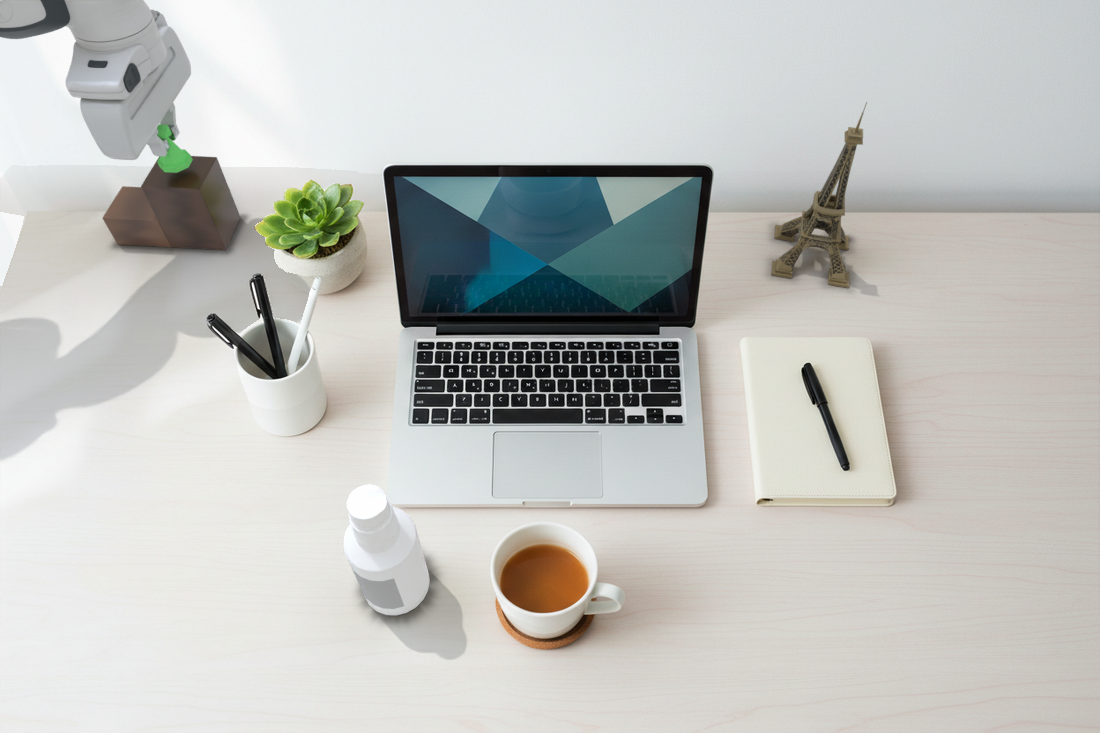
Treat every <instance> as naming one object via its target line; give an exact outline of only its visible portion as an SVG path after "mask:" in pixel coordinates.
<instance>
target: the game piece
mask: <svg viewBox="0 0 1100 733" xmlns="http://www.w3.org/2000/svg"><path fill="white" fill-rule="evenodd" d="M157 130H158V134H157V136H158V137H159V138H160V139H164V138H166V139H167V142H168V145H169V146H170V149H169V151H168V153H167V155H166V156H160V158H159V157H158V158H159V159H158V158H157V159H158V161H157V160H156V161H157V163H158V165H159V167H160V168H161V169H162V170H163V171H164V172H172V173H177V172H180V171H182V170H184V169H186V168H188V167H189V166H190V164H191V162H192V160H193V159H192V157H191V156H192V154H190V153H189V151H187V150H186V149H183V148H180V147H179V146H178V145H177V143H175V141H172V140H171V139H170V138H169V136H170V135H172V133H171V131H170V129H169V127H168V125H161V124H159V125H158V127H157Z"/></svg>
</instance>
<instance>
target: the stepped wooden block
mask: <svg viewBox="0 0 1100 733" xmlns="http://www.w3.org/2000/svg"><path fill="white" fill-rule="evenodd" d="M191 157H192V159H193V160H192V162H191V164H190V166H189V167H188V168H186V169H184V170H182V171H180V172H177V173H172V172H164V171H163V170H162V169H161V168H160V167H159V165H158V163H157V161H158V159H159V158H160V156H158V158H157V159H156V161H155V163H154V164H153V166H152V167H151V169H150V171H149V173H148V174H147V176H146V177H145V179H144V181H143V182H142V184H141V185H140V186H127V185H126V186H125V185H123V186H121V188H120V189H119V191H118V192H117V194H116V195H115V197H114V199H113V201H112V202H111V204H110V205H109V207H108V208H107V210H106V211H105V212H104V215H103V216H102V221H103V222H104V224H105V225H106V227H107V229H108V231H109V233H110V235H111V236H112V238H113V240H114V241H115V243H116V244H117V245H121V246H137V247H138V246H139V247H141V246H142V247H156V248H157V247H161V248H179V249H198V250H218V251H226V250H227V249H228V246H229V245H230V243H231V240H232V238H233V236H234V234H235V231H236V230H237V227H238V225H239V223H240V221H241V219H242V217H241V214H240V211H239V209H238V207H237V205H236V202H235V200H234V197H233V194H232V192H231V189H230V187H229V184H228V182H227V179H226V176H225V174H224V172H223V169H222V166H221V164H220V161H219V159H218V157H217V156H202V155H191Z"/></svg>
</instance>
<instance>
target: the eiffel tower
mask: <svg viewBox="0 0 1100 733" xmlns="http://www.w3.org/2000/svg"><path fill="white" fill-rule="evenodd" d="M867 104H868V102H867V101H866V102H865V105H864V108H863V110H862V112H861V115H860V117H859V119H858V122H857V124H856V127H851V126H848V127H847V130H845V131H844V145H843V147H842V149H841V151H840V153H839V155H838V157H837V159H836V161H835V164H834V165H833V167H832V169H831V170H830V172H829V175H828V176H827V179H826V180H825V183H823V186H822V188H821V190H816V191H815V192H814V194H813V201H812V204H811V205H810V207H809V208H808V209H807V210H802V213H801V216H799V217H796V218H794V219H791V220H789V221H786V222H784V223H782V224H781V225H780V224H775V226H774V236H773V239H775V240H781V241H787V242H794V241H795V236H796V235H797V243H796V244H795V245H794V246H792V247H791V248H790V249H789V250H787V251H785V252H784V253H783V254H782V255H781V256H779V257H778V258H776V260H772V263H771V272H770V273H771V274H770V275H771V276H773V277H778V278H785V279H792V277H793V269H794V266H795V264H796V263H797V261H798V259H799V257H800V256H801V254H802V252H803V251H804V250H806V249H811V248H818V249H821V250H824V251H825V252H826V253H828V255H829V263H830V267H828V271H827V285H828V286H833V287H841V288H847V289H849V287H850V272H848V271H847V267H846V265H845V263H844V261H843V258H842V255H841V251H840V250H844V251H849V249H850V244H849V243H850V242H849V241H850V240H849V235H846V232H845V230H844V229H843V227H842V217H843V216H844V217H845V216H846V192H847V187H848V182H849V178H850V174H851V170H852V167H853V162H854V158H855V154H856V151H857V148H858V145H859V146H860V145H862V146H863V145H864V128H860V126H861V123H862V119H863V116H864V112H865V109H866V107H867ZM836 186H837V188H836ZM835 188H836V192H835V194H833V192H834V190H835ZM814 230H821V231H824V232H825V233H826V234H827V235H828V236H827V235H819V234H813V233H814Z"/></svg>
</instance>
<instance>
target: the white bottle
mask: <svg viewBox="0 0 1100 733" xmlns="http://www.w3.org/2000/svg"><path fill="white" fill-rule="evenodd" d="M346 510H347V513H348V521H349V524H348V526H347V528H346V529H345V533H344V537H343V541H342V545H343V553H344V555H345V557H346V559H347V562H348V564H349V566H350V568H351V570H352V573H353V574H354V577H355V579H356V581H357V583H358V584H359V587H360V590H361V591H362V594H363V596H364V599H365V600H366V602H367V604H368V606H370V607H371V608H372V609H373V610H374V611H376V612H378V613H380V614H382V615H385V616H399V615H404V614H407V613H409V612H410V611H413V610H414V609H416V608H417V607H418V606H419V605H420V604H421V603H422V602H423V601H424V599H425V598H426V596H427V593H428V591H429V589H430V582H431V581H430V580H431V579H430V573H429V569H428V566H427V562H426V558H425V555H424V551H423V547H422V544H421V540H420V537H419V533H418V530H417V527H416V524H415V523H414V520H413V519H412V518H411V516H410V515H409V514H408V513H406V512H405V511H404V510H403V509H401V508H399V507H396V506H393V505H392V503H391V501H390V499H388V497H387V495H386V493H385V491H384V489H382V488H381V487H380V486H378V485H375V484H363V485H360V486H358V487H356V488H354V489H353V490H352V491H351V492H350V493H349V496H348V497H347V500H346Z"/></svg>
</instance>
